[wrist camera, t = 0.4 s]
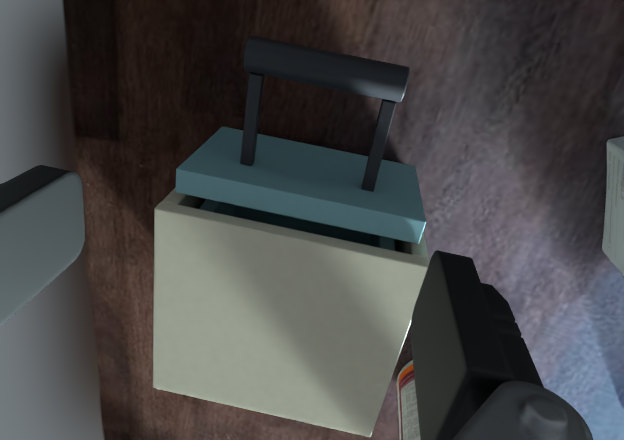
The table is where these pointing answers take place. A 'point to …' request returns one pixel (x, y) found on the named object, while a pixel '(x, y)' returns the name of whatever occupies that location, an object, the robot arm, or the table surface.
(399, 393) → the pill bottle
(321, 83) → the drawer
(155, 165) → the table surface
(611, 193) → the white packaging box
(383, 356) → the block
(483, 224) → the table surface
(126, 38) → the table surface
